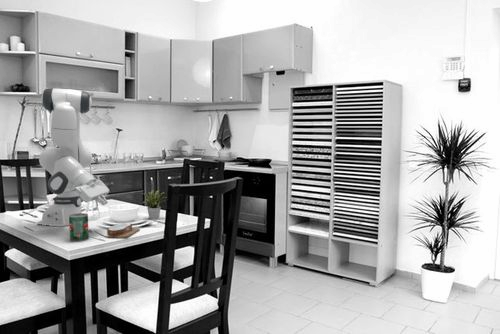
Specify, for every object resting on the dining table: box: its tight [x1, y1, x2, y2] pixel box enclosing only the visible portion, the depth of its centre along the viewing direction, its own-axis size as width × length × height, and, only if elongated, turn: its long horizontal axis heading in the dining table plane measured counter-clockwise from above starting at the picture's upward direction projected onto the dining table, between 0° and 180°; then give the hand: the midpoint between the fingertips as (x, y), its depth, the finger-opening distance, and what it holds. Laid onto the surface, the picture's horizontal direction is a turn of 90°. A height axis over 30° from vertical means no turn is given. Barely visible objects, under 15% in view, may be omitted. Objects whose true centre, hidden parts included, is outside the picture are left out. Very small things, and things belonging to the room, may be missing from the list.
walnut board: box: [107, 227, 141, 240], centre depth 203 cm, size 9×15×1 cm, turn 172°
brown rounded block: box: [106, 222, 133, 236], centre depth 203 cm, size 15×3×8 cm
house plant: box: [141, 188, 168, 220], centre depth 235 cm, size 14×14×16 cm
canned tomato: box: [68, 213, 90, 243], centre depth 193 cm, size 8×8×11 cm
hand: (105, 204), depth 203 cm, fingers closed
